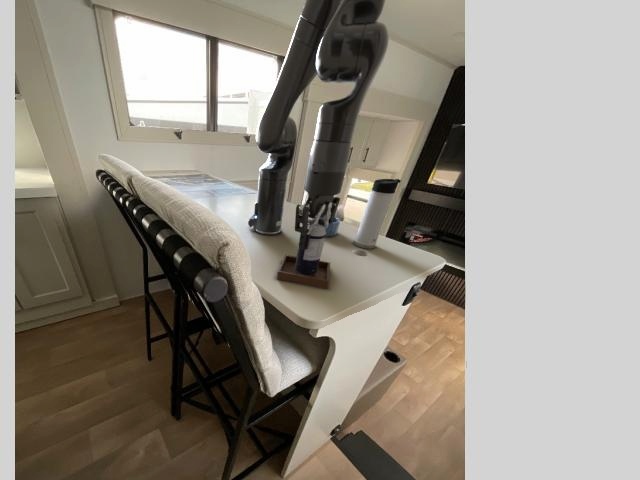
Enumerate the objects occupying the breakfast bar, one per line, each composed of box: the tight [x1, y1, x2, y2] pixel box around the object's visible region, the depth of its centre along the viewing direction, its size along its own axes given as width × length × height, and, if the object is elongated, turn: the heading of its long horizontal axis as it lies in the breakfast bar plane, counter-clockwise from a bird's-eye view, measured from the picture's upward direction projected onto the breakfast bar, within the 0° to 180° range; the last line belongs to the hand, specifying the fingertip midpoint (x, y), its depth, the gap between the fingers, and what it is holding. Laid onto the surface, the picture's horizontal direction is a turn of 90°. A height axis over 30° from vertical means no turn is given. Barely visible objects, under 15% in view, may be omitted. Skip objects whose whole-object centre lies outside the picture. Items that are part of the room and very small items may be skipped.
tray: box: [276, 254, 331, 289], centre depth 65 cm, size 12×10×2 cm
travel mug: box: [353, 178, 402, 250], centre depth 76 cm, size 6×7×20 cm
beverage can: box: [295, 223, 327, 276], centre depth 61 cm, size 6×6×12 cm
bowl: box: [311, 215, 341, 238], centre depth 89 cm, size 9×9×5 cm
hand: (310, 244), depth 61 cm, fingers closed on beverage can, 5 cm apart
